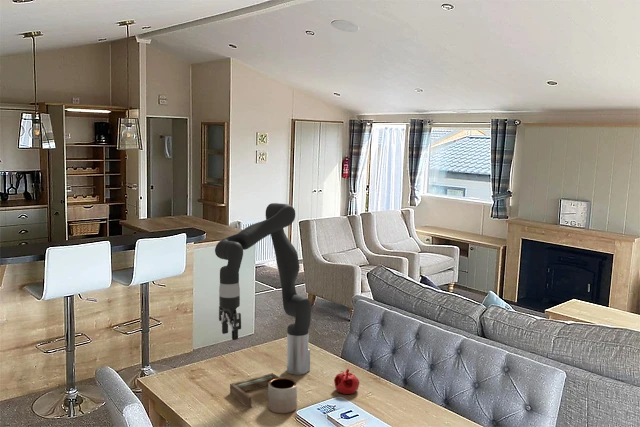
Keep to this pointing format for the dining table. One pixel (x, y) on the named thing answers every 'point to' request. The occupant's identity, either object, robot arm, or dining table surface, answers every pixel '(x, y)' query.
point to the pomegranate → (346, 382)
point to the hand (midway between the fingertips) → (229, 336)
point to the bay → (249, 387)
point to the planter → (282, 395)
